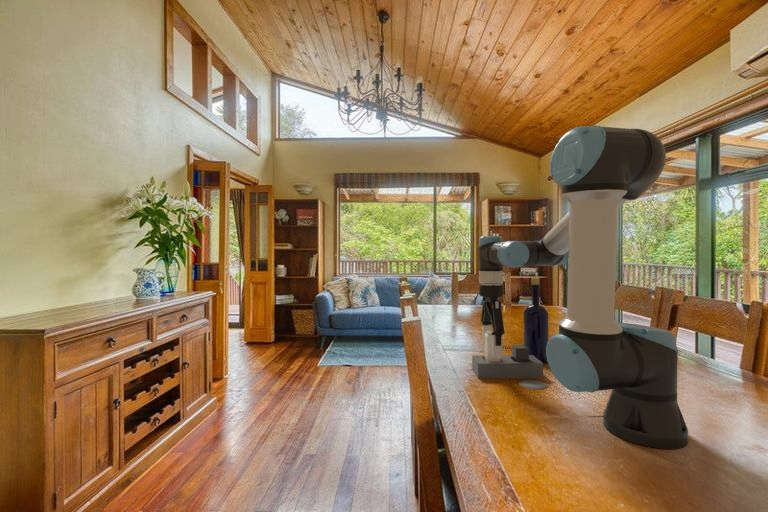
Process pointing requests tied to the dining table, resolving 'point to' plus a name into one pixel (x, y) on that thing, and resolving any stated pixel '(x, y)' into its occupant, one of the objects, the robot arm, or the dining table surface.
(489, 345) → the plug
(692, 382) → the dining table surface
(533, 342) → the bottle
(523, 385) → the coaster
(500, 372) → the strip
